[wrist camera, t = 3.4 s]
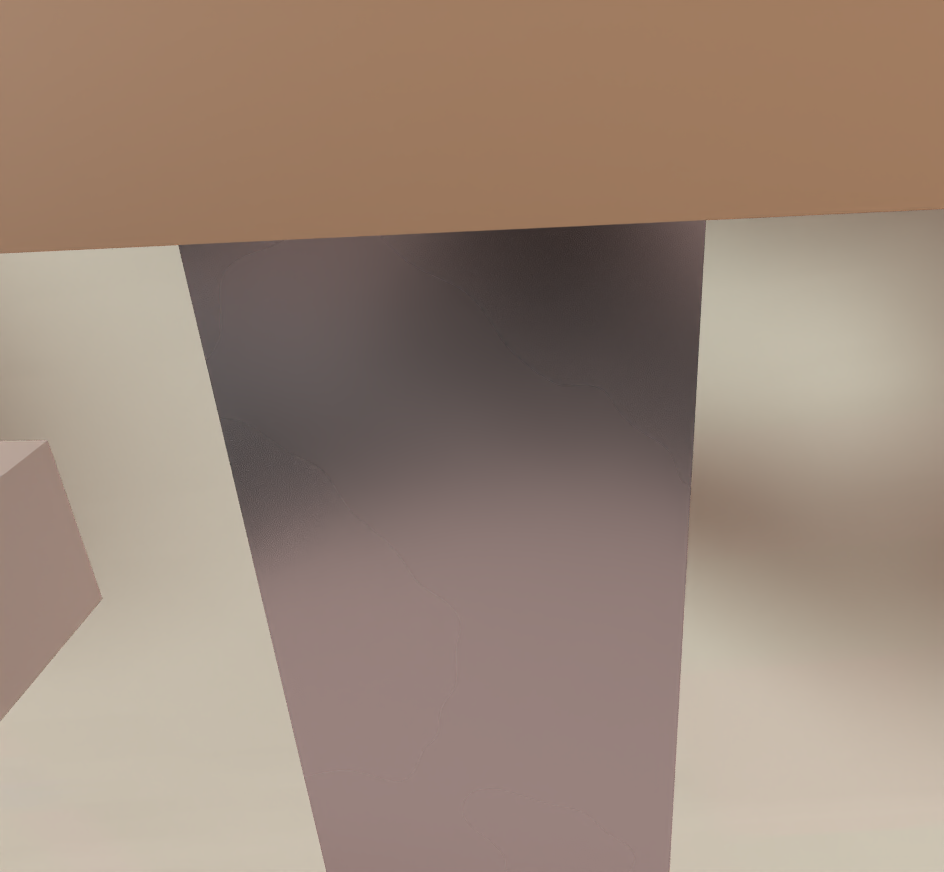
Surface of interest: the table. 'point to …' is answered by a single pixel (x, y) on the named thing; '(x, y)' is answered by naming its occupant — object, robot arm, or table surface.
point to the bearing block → (456, 115)
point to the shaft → (469, 529)
